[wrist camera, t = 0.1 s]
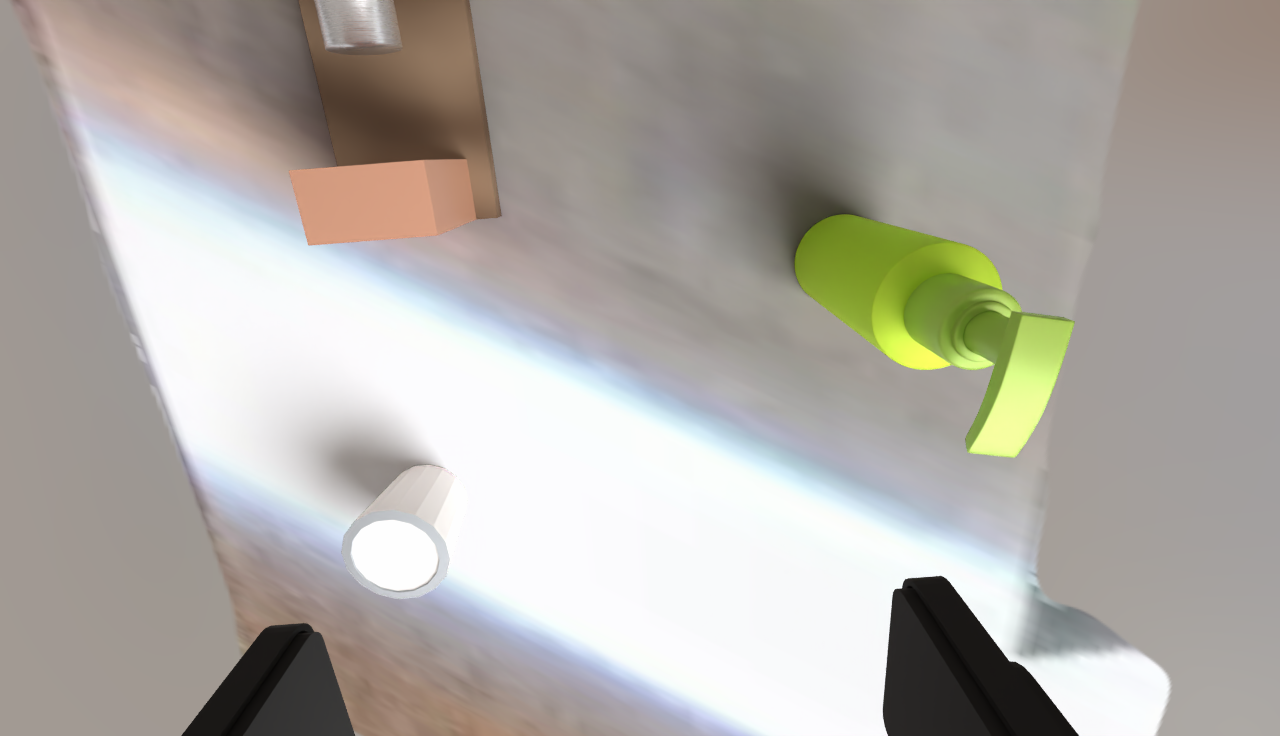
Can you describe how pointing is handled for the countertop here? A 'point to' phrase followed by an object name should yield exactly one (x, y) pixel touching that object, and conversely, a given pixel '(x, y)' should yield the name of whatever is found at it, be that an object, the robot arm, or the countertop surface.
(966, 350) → the soap dispenser
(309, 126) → the countertop surface
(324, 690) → the robot arm
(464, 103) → the stand
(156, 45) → the countertop surface
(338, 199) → the socket block
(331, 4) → the steel tube
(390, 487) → the white cup
